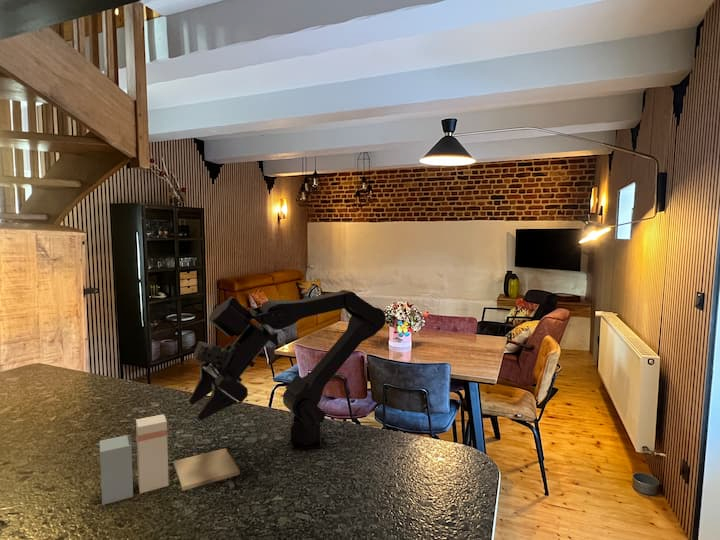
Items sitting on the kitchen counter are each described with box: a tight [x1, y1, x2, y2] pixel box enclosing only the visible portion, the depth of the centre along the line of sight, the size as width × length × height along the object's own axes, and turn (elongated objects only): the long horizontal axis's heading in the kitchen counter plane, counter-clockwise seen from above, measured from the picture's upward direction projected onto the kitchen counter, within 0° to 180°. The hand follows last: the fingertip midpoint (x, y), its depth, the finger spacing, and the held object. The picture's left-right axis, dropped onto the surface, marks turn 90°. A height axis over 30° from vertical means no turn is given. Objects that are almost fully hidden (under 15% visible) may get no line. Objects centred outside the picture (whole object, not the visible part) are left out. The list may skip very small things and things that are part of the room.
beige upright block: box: [135, 413, 169, 494], centre depth 84 cm, size 5×4×13 cm
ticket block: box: [99, 434, 134, 506], centre depth 81 cm, size 5×5×10 cm
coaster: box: [172, 447, 241, 492], centre depth 90 cm, size 11×11×1 cm
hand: (194, 410), depth 88 cm, fingers open, 9 cm apart
